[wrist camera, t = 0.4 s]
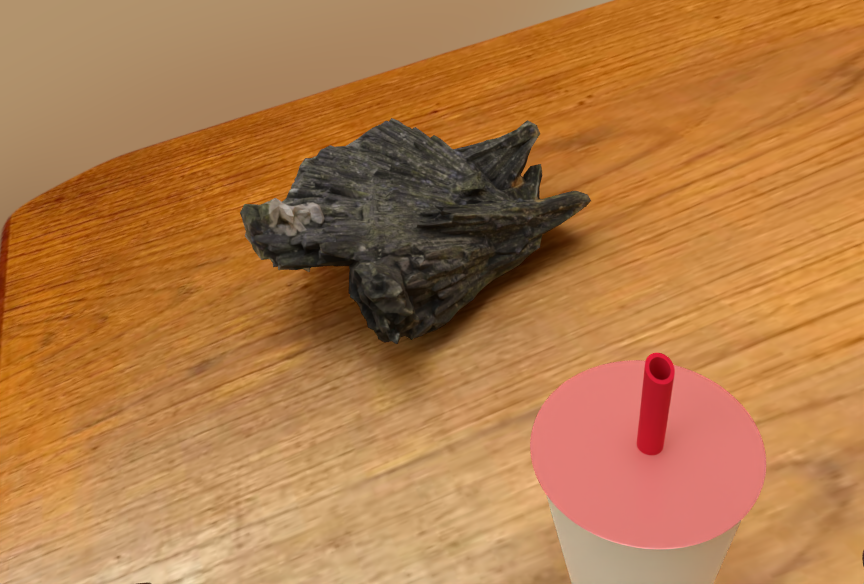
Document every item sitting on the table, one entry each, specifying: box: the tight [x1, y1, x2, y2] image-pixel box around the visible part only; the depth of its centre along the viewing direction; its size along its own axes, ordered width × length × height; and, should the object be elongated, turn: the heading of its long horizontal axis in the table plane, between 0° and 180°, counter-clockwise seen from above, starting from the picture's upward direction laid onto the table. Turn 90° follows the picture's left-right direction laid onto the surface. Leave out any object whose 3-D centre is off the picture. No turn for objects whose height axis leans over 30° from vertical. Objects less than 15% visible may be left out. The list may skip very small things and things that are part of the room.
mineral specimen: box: [240, 118, 591, 344], centre depth 35 cm, size 15×13×10 cm
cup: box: [530, 353, 766, 584], centre depth 19 cm, size 5×5×12 cm
